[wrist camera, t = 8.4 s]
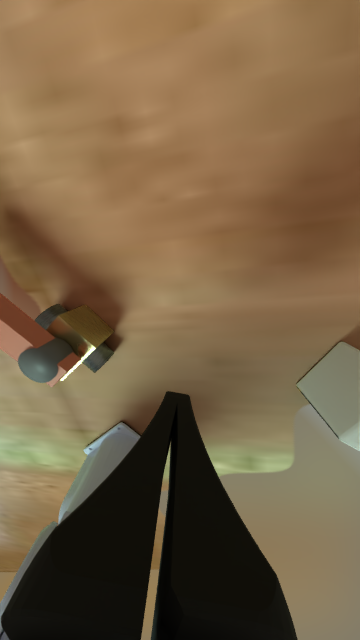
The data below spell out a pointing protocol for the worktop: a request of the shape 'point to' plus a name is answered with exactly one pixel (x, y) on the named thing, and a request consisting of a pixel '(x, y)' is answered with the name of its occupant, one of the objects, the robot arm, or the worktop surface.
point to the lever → (33, 346)
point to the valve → (79, 334)
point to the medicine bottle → (337, 392)
